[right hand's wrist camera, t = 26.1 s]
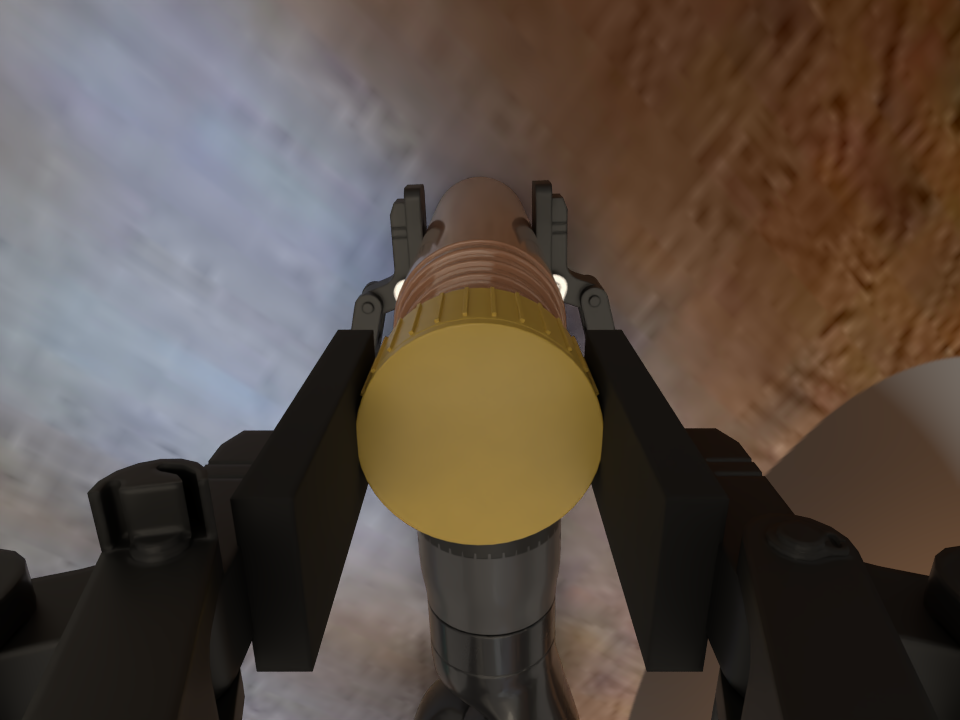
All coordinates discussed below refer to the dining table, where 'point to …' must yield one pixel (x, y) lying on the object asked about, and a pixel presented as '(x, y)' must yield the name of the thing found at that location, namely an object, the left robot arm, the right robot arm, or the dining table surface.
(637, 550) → the right robot arm
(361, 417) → the cap
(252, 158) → the dining table surface
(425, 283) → the bottle
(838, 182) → the dining table surface
